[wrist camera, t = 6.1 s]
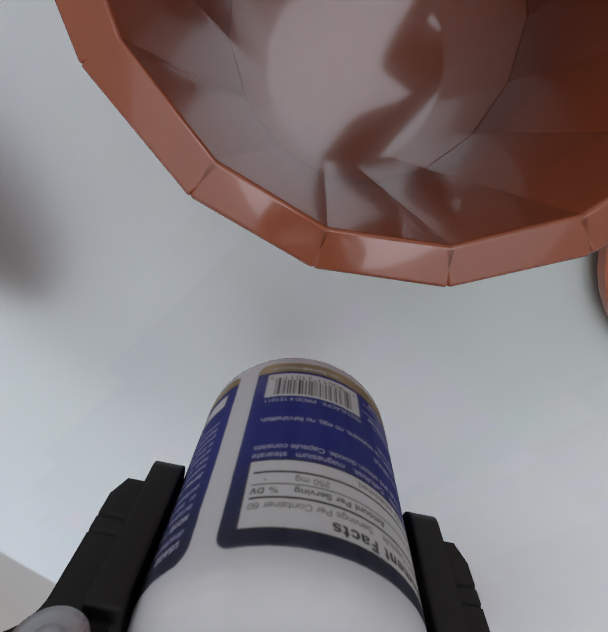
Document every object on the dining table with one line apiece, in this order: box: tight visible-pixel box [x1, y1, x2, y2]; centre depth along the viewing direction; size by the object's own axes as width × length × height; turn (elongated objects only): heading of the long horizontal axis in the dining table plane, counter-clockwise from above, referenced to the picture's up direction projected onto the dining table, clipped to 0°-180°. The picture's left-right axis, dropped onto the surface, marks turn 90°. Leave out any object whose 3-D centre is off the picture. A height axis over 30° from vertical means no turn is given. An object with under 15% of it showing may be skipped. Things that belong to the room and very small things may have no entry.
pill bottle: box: [127, 358, 427, 632], centre depth 10 cm, size 6×6×10 cm
